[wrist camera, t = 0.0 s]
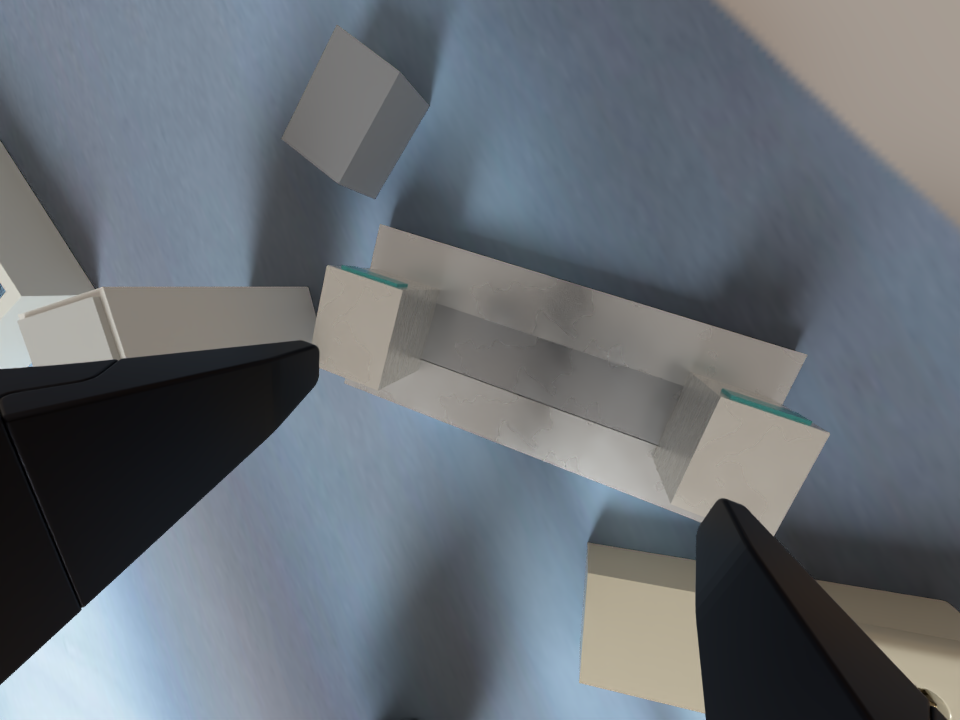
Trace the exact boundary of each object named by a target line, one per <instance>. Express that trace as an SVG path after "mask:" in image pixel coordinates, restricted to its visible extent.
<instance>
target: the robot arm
mask: <svg viewBox="0 0 960 720" xmlns="http://www.w3.org/2000/svg"><path fill="white" fill-rule="evenodd" d="M319 358H320V351H319V348H318V347H317V346H316V345H314V344H311V343H309V342H306V341H303V340H297V341H287V342H278V343H268V344H258V345H249V346H239V347H229V348H220V349H210V350H200V351H191V352H181V353H171V354H162V355H152V356H142V357H133V358H123V359H120V360H119V361H118V360H117V359H113V360H103V361H93V362H83V363H72V364H61V365H49V366H35V367H22V368H7V369H0V685H1V684H2V683H3V682H4V681H5V680H6V679H7V678H8V677H9V676H11V675H12V674H13V673H14V672H15V671H16V670H17V669H18V668H19V667H20V666H21V665H22V664H24V663H25V662H26V661H27V660H28V659H29V658H30V657H31V656H32V655H33V654H34V653H35V652H37V651H38V650H39V649H40V648H41V647H42V646H43V645H44V644H45V643H46V642H47V641H48V640H50V639H51V638H52V637H53V636H54V635H55V634H56V633H57V632H58V631H59V630H60V629H61V628H63V627H64V626H65V625H66V624H67V623H68V622H69V621H70V620H71V619H72V618H73V617H74V616H76V615H77V614H78V613H79V612H80V611H81V607H85V606H86V605H87V604H88V603H89V602H90V601H91V600H93V599H94V598H95V597H96V596H97V595H98V594H99V593H100V592H101V591H102V590H103V589H104V588H106V587H107V586H108V585H109V584H110V583H111V582H112V581H113V580H114V579H115V578H116V577H117V576H119V575H120V574H121V573H122V572H123V571H124V570H125V569H126V568H127V567H128V566H129V565H130V564H132V563H133V562H134V561H135V560H136V559H137V558H138V557H139V556H140V555H141V554H142V553H143V552H145V551H146V550H147V549H148V548H149V547H150V546H151V545H152V544H153V543H154V542H155V541H157V540H158V539H159V538H160V537H161V536H162V535H163V534H164V533H165V532H166V531H167V530H168V529H170V528H171V527H172V526H173V525H174V524H175V523H176V522H177V521H178V520H179V519H180V518H181V517H183V516H184V515H185V514H186V513H187V512H188V511H189V510H190V509H191V508H192V507H193V506H194V505H196V504H197V503H198V502H199V501H200V500H201V499H202V498H203V497H204V496H205V495H206V494H207V493H209V492H210V491H211V490H212V489H213V488H214V487H215V486H216V485H217V484H218V483H219V482H220V481H222V480H223V479H224V478H225V477H226V476H227V475H228V474H229V473H230V472H231V471H232V470H234V469H235V468H236V467H237V466H238V465H239V464H240V463H241V462H242V461H243V460H244V459H245V458H247V457H248V456H249V455H250V454H251V453H252V452H253V451H254V450H255V449H256V448H257V447H258V446H260V445H261V444H262V443H263V442H264V441H265V440H266V439H267V438H268V437H269V436H270V435H271V434H272V433H273V432H274V431H275V430H276V429H277V428H278V427H279V426H280V425H281V424H282V423H283V422H284V420H285V419H286V418H287V417H288V416H289V415H290V414H291V412H292V411H293V410H294V409H295V408H296V407H297V406H298V405H299V403H300V402H301V401H302V400H303V399H304V398H305V397H306V395H307V394H308V393H309V392H310V391H311V390H312V389H313V388H314V386H315V385H316V383H317V381H318V378H319ZM695 613H696V626H697V636H698V646H699V656H700V666H701V676H702V685H703V695H704V705H705V715H706V720H947V718H946V717H945V716H944V715H943V714H942V713H941V712H940V711H939V710H938V709H937V708H936V707H934V706H930V702H929V700H928V699H927V698H926V696H925V695H924V694H923V693H922V692H921V691H920V690H919V689H918V688H917V687H916V686H915V685H914V684H913V683H912V682H911V681H910V680H909V679H908V677H907V676H906V675H905V674H904V673H903V672H902V671H901V670H900V669H899V668H898V667H897V666H896V665H895V664H894V663H893V662H892V661H891V660H890V659H889V657H888V656H887V655H886V654H885V653H884V652H883V651H882V650H881V649H880V648H879V647H878V646H877V645H876V644H875V643H874V642H873V641H872V640H871V639H870V637H869V636H868V635H867V634H866V633H865V632H864V631H863V630H862V629H861V628H860V627H859V626H858V625H857V624H856V623H855V622H854V621H853V620H852V618H851V617H850V616H849V615H848V614H847V613H846V612H845V611H844V610H843V609H842V608H841V607H840V606H839V605H838V604H837V603H836V602H835V601H834V600H833V598H832V597H831V596H830V595H829V594H828V593H827V592H826V591H825V590H824V589H823V588H822V587H821V586H820V585H819V584H818V583H817V582H816V581H815V580H814V578H813V577H812V576H811V575H810V574H809V573H808V572H807V571H806V570H805V569H804V568H803V567H802V566H801V565H800V564H799V563H798V562H797V561H796V559H795V558H794V557H793V556H792V555H791V554H790V553H789V552H788V551H787V550H786V549H785V548H784V547H783V546H782V545H781V544H780V543H779V542H778V540H777V539H776V538H775V537H774V536H773V535H772V534H771V533H770V532H769V531H768V530H767V529H766V528H765V527H764V526H763V525H762V524H761V523H760V522H759V520H758V519H757V518H756V517H755V516H754V515H753V514H752V513H751V512H750V511H749V510H748V509H747V508H746V507H745V506H744V505H742V504H739V503H736V502H734V501H731V500H728V499H726V498H721V499H718V500H717V501H716V502H715V504H714V505H713V506H712V508H711V509H710V511H709V512H708V514H707V515H706V517H705V518H704V520H703V521H702V522H701V524H700V526H699V528H698V531H697V535H696V583H695Z"/></svg>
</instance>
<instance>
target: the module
mask: <svg viewBox="0 0 960 720" xmlns="http://www.w3.org/2000/svg"><path fill="white" fill-rule="evenodd" d="M18 317H19V320H18V321H17V322H18V325H19V328H20V331H21V334H22V336H23V339H24V342H25V345H26V348H27V350H28V353H29V356H30V359H31V362H32V364H33V367H35V366H49V365H61V364H72V363H83V362H93V361H103V360H113V359H117V360H118V361H119V360H120V359H123V358H133V357H142V356H152V355H162V354H171V353H181V352H191V351H200V350H210V349H220V348H229V347H239V346H249V345H258V344H268V343H278V342H287V341H297V340H303V341H306V342H309V343H312V338H313V333H314V328H315V323H316V314H315V310H314V306H313V303H312V299H311V295H310V292H309V288H308V287H101V288H98V289H95V290H92V291H89V292H86V293H83V294H80V295H76V296H73V297H70V298H67V299H64V300H61V301H58V302H55V303H52V304H49V305H46V306H43V307H40V308H37V309H34V310H31V311H28V312H25V313H22V314H19V315H18Z"/></svg>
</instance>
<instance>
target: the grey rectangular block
mask: <svg viewBox="0 0 960 720" xmlns="http://www.w3.org/2000/svg"><path fill="white" fill-rule="evenodd" d="M428 108H429V105H428V103H427V102H426V101H425V100H424V99H423V98H422V97H421V95H420V94H419V93H418V92H417V91H416V90H415V88H414V87H413V86H412V85H411V84H410V83H409V81H408V80H407V79H406V78H405V77H404V76H403V74H402V73H401V72H400V71H398V70H397V69H396V68H394V67H393V66H392V65H390V64H389V63H388V62H386V61H385V60H384V59H382V58H381V57H380V56H378V55H377V54H376V53H374V52H373V51H372V50H370V49H369V48H368V47H366V46H365V45H364V44H362V43H361V42H360V41H358V40H357V39H356V38H354V37H353V36H352V35H350V34H349V33H348V32H346V31H345V30H344V29H342V28H341V27H339V26H338V25H336V27H335V29H334V31H333V34H332V36H331V38H330V40H329V42H328V44H327V46H326V48H325V50H324V52H323V54H322V56H321V58H320V60H319V62H318V64H317V66H316V68H315V71H314V73H313V75H312V77H311V79H310V81H309V83H308V85H307V87H306V89H305V91H304V93H303V95H302V97H301V99H300V101H299V103H298V105H297V108H296V110H295V112H294V114H293V116H292V118H291V120H290V122H289V124H288V126H287V128H286V130H285V132H284V134H283V136H282V138H281V139H282V140H283V141H285V142H286V143H287V144H288V145H290V146H291V147H292V148H293V149H295V150H296V151H297V152H298V153H300V154H301V155H302V156H304V157H305V158H306V159H307V160H309V161H310V162H311V163H312V164H314V165H315V166H316V167H317V168H319V169H320V170H321V171H323V172H324V173H325V174H326V175H328V176H329V177H330V178H331V179H333V180H334V181H335V182H336V183H338V184H339V185H342V186H344V187H347V188H349V189H352V190H354V191H356V192H359V193H361V194H364V195H366V196H368V197H371V198H373V199H376V197H377V195H378V194H379V192H380V190H381V188H382V187H383V185H384V183H385V182H386V180H387V178H388V176H389V175H390V173H391V171H392V170H393V168H394V166H395V164H396V163H397V161H398V159H399V158H400V156H401V154H402V152H403V151H404V149H405V147H406V146H407V144H408V142H409V141H410V139H411V137H412V135H413V134H414V132H415V130H416V129H417V127H418V125H419V123H420V122H421V120H422V118H423V117H424V115H425V113H426V111H427V110H428Z"/></svg>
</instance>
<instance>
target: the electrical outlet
mask: <svg viewBox="0 0 960 720" xmlns="http://www.w3.org/2000/svg"><path fill="white" fill-rule="evenodd" d="M815 581H816V582H817V583H818V584H819V585H820V586H821V587H822V588H823V589H824V590H825V591H826V592H827V593H828V594H829V595H830V596H831V597H832V598H833V600H834V601H835V602H836V603H837V604H838V605H839V606H840V607H841V608H842V609H843V610H844V611H845V612H846V613H847V614H848V615H849V616H850V617H851V618H852V620H853V621H854V622H855V623H856V624H857V625H858V626H859V627H860V628H861V629H862V630H863V631H864V632H865V633H866V634H867V635H868V636H869V637H870V639H871V640H872V641H873V642H874V643H875V644H876V645H877V646H878V647H879V648H880V649H881V650H882V651H883V652H884V653H885V654H886V655H887V656H888V657H889V659H890V660H891V661H892V662H893V663H894V664H895V665H896V666H897V667H898V668H899V669H900V670H901V671H902V672H903V673H904V674H905V675H906V676H907V677H908V679H909V680H910V681H911V682H912V683H913V684H914V685H915V686H916V687H917V688H918V689H919V690H920V691H921V692H922V693H923V694H924V695H925V696H926V698H927V699H928V700H929V702H930V706H934V707H936V708H937V709H938V710H939V711H940V712H941V713H942V714H943V715H944V716H945V717H946V718H947V720H960V612H959V611H957V610H956V609H955V608H954V607H953V606H952V605H951V604H949V603H948V602H946V601H942V600H936V599H930V598H924V597H918V596H912V595H906V594H900V593H893V592H887V591H881V590H875V589H869V588H863V587H857V586H851V585H845V584H838V583H832V582H826V581H820V580H815ZM695 583H696V560H692V559H686V558H679V557H673V556H667V555H661V554H655V553H649V552H643V551H637V550H631V549H624V548H618V547H612V546H606V545H600V544H594V543H587V556H586V570H585V583H584V596H583V610H582V623H581V636H580V673H579V683H582V684H586V685H590V686H595V687H599V688H603V689H607V690H611V691H615V692H619V693H623V694H627V695H631V696H635V697H640V698H644V699H648V700H652V701H656V702H660V703H664V704H668V705H672V706H676V707H681V708H685V709H689V710H693V711H697V712H701V713H705V705H704V695H703V685H702V676H701V666H700V656H699V646H698V636H697V626H696V613H695Z"/></svg>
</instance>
